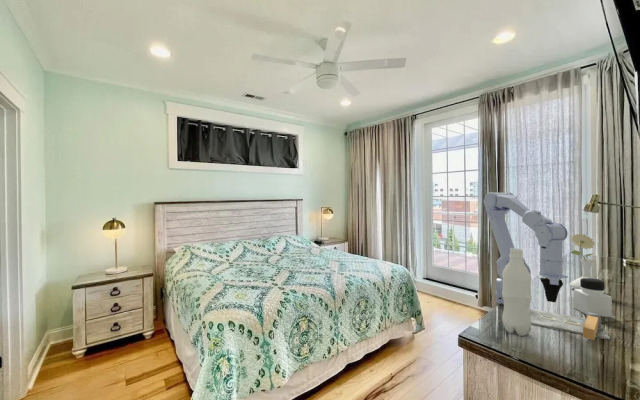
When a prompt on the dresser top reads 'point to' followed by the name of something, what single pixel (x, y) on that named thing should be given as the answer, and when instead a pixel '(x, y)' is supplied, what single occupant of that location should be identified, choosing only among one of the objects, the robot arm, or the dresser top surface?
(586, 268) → the flower in vase
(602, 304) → the medicine bottle
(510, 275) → the water bottle
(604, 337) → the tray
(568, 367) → the dresser top surface
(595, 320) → the tan piece
